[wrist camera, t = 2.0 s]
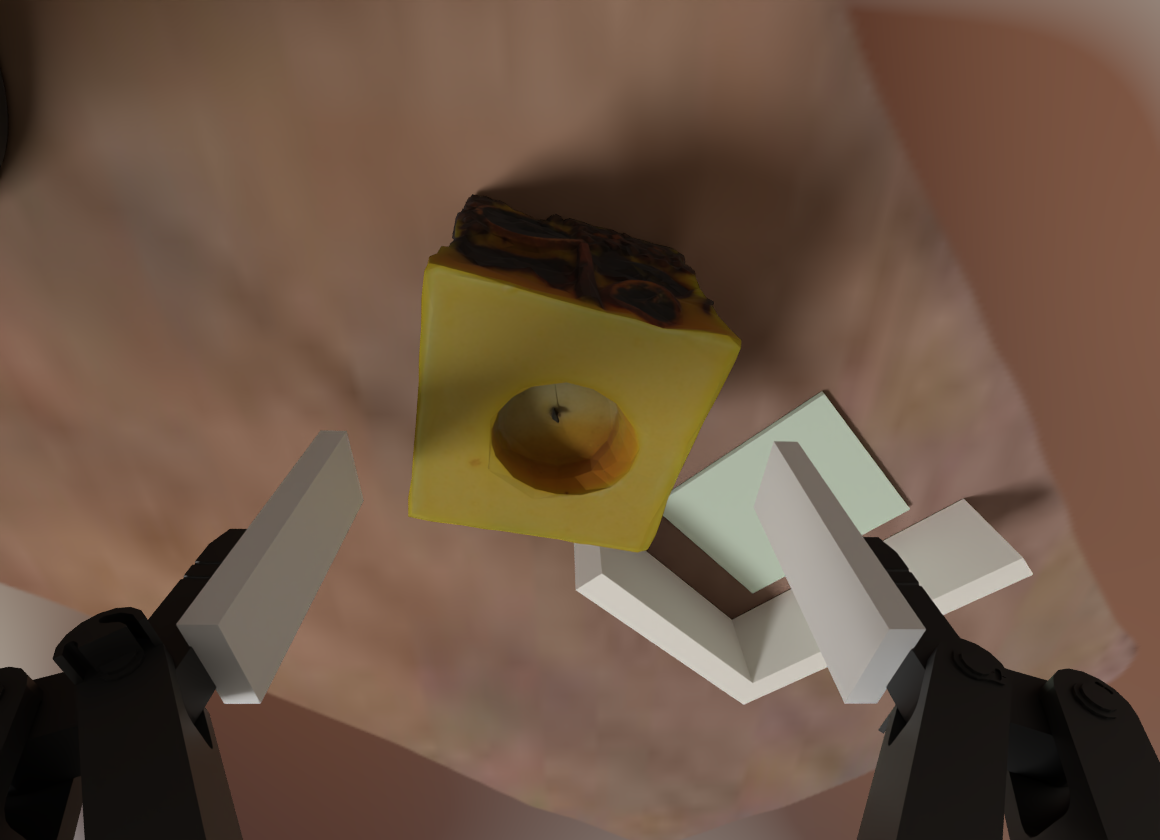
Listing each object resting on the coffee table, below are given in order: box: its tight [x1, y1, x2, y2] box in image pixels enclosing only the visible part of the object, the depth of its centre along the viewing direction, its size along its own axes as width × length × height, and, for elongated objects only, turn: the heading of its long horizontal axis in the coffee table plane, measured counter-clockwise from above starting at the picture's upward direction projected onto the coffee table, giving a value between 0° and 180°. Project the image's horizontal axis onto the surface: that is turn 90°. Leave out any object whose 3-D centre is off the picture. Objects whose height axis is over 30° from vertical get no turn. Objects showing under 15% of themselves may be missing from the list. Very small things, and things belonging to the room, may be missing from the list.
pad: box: [663, 391, 910, 593], centre depth 32 cm, size 12×12×1 cm
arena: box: [574, 499, 1033, 705], centre depth 31 cm, size 18×20×5 cm
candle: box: [408, 194, 741, 553], centre depth 21 cm, size 10×10×10 cm
